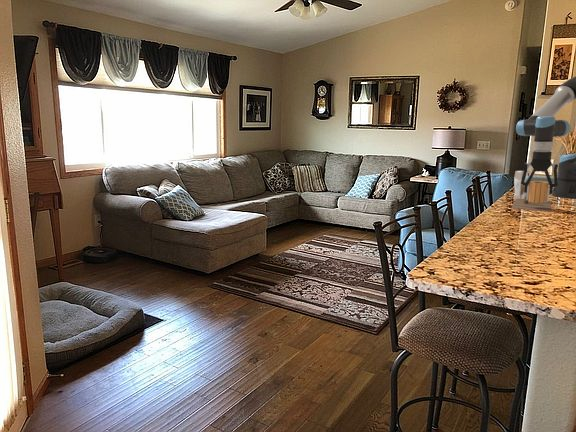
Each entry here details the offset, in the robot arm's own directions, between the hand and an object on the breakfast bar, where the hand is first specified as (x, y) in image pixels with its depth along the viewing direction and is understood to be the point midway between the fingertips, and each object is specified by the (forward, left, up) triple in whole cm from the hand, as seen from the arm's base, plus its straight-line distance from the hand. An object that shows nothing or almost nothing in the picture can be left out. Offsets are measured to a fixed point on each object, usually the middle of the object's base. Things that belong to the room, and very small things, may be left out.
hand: (537, 200), depth 212 cm
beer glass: (-20, -22, -5) cm, 30 cm away
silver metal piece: (-11, -12, -4) cm, 16 cm away
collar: (0, 0, 0) cm, 0 cm away
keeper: (-17, -10, +6) cm, 20 cm away
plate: (-6, -6, -5) cm, 9 cm away
